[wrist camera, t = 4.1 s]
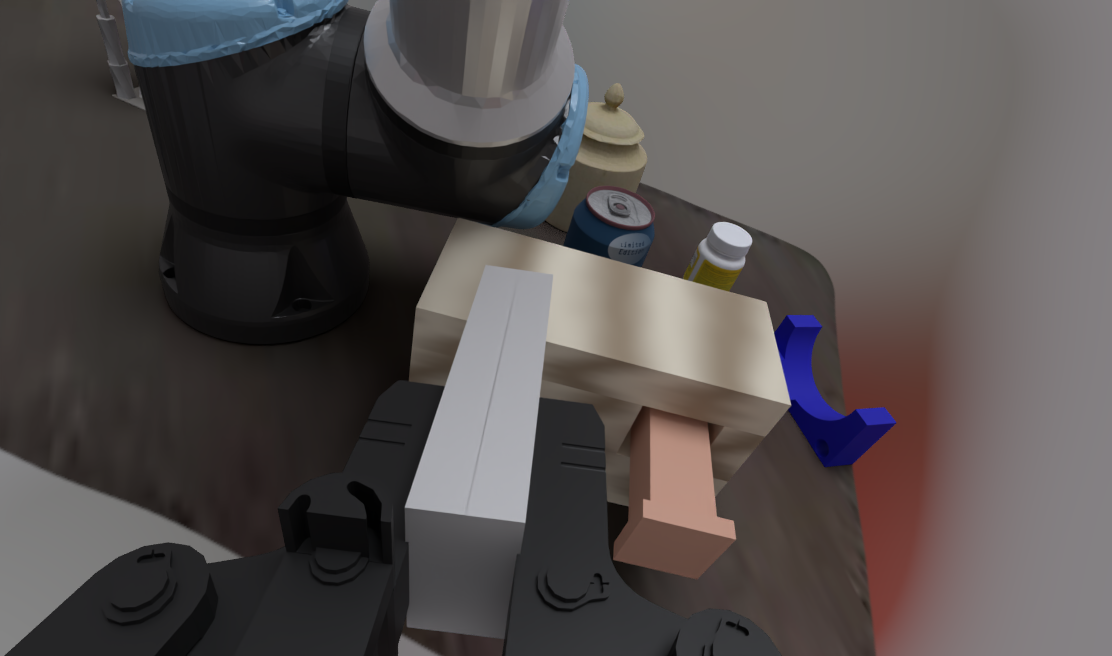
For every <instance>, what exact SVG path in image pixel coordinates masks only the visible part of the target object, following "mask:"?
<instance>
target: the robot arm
mask: <svg viewBox="0 0 1112 656" xmlns="http://www.w3.org/2000/svg"><path fill="white" fill-rule="evenodd" d="M121 1H122V7H123V14H124V20H125V26H126V33H127V39H128V45H129V50H128V57H129V60H130V62H132V63H133V64H134V68H135V72H136V76H137V80H138V83H139V87H140V91H141V95H142V98H143V102H144V106H145V110H146V114H147V117H148V121H149V125H150V129H151V132H152V136H153V140H154V144H155V148H156V151H157V155H158V159H159V163H160V166H161V170H162V174H163V178H164V181H165V185H166V189H167V193H168V197H169V202H170V204H169V210H168V215H167V220H166V225H165V231H164V236H163V241H162V246H161V252H160V257H159V274H160V279H161V282H162V286H163V289H164V292H165V296H166V299H167V301H168V304H169V305H170V307H171V309H172V310H173V311H174V313H175V314H176V315H177V316H178V317H179V318H180V319H182V320H183V321H184V322H185V323H187V324H188V325H190V326H191V327H193V328H194V329H196V330H198V331H200V332H203V333H205V334H207V335H210V336H213V337H216V338H219V339H223V340H227V341H232V342H238V343H247V344H276V343H286V342H292V341H297V340H301V339H306V338H309V337H312V336H315V335H318V334H321V333H323V332H326V331H328V330H330V329H332V328H334V327H335V326H337V325H339V324H341V323H342V322H344V321H345V320H346V319H348V318H349V317H350V316H351V315H352V314H353V313H354V312H355V311H356V310H357V309H358V308H359V307H360V305H361V304H362V302H363V301H364V299H365V297H366V294H367V291H368V287H369V257H368V252H367V249H366V247H365V244H364V242H363V240H362V237H361V234H360V232H359V229H358V227H357V224H356V222H355V219H354V217H353V214H352V212H351V210H350V207H349V205H348V202H347V197H352V198H356V199H357V198H358V199H363V200H368V201H373V202H378V203H384V204H389V205H394V206H399V207H404V208H409V209H414V210H419V211H424V212H429V213H434V214H439V215H444V216H449V217H454V218H462V219H466V220H469V221H474V222H478V223H480V224H484V225H488V226H491V227H501V226H502V227H509V228H516V229H530V228H533V227H536V226H538V225H539V224H541V223H542V222H543V221H544V220H545V219H546V218H547V217H548V216H549V215H550V214H551V213H552V211H553V210H554V208H555V207H556V205H557V203H558V202H559V200H560V198H561V196H562V194H563V192H564V190H565V187H566V185H567V182H568V177H569V169H570V168H571V167H572V166H573V165H574V163H575V160H576V157H577V154H578V151H579V148H580V144H581V140H582V136H583V132H584V127H585V122H586V116H587V108H588V96H589V87H588V79H587V76H586V73H585V71H584V70H583V69H582V68H581V66H579V65H577V64H575V63H574V55H573V49H572V45H571V42H570V39H569V37H568V34H567V32H566V30H565V28H564V26H563V25H562V24H563V20H564V17H565V13H566V9H567V6H568V3H569V0H378V1H377V2H376V3H375V5H374V7H373V9H372V11H367V10H363V9H359V8H356V7H352V6H350V5H348V4H347V2H348V0H121ZM552 283H553V274H546V273H539V272H532V271H525V270H518V269H511V268H504V267H497V266H490V265H485V268H484V271H483V274H482V277H481V280H480V283H479V286H478V289H477V292H476V295H475V298H474V301H473V304H472V307H471V310H470V313H469V316H468V319H467V322H466V325H465V328H464V331H463V334H462V337H461V340H460V343H459V346H458V349H457V352H456V355H455V358H454V361H453V364H452V367H451V370H450V373H449V376H448V379H447V382H446V385H445V386H440V385H433V384H425V383H418V382H410V381H403V380H398V381H397V382H396V383H394V384H393V385H392V386H391V387H390V388H388V389H387V390H386V391H385V392H384V393H382V394H381V395H380V396H379V397H378V399H377V401H376V403H375V405H374V407H373V409H372V411H371V413H370V415H369V418H368V422H367V423H366V424H365V426H364V428H363V430H362V432H361V434H360V436H359V441H358V442H357V443H356V445H355V447H354V449H353V451H352V453H351V455H350V457H349V460H348V462H347V464H346V466H345V468H344V470H343V472H342V473H330V474H327V475H324V476H321V477H317V478H314V479H311V480H309V481H307V482H306V483H304V484H303V485H301V486H300V487H298V488H296V489H295V490H293V491H292V492H291V493H290V494H289V495H288V496H287V498H286V499H285V500H284V501H283V502H282V504H281V505H280V506H279V507H278V512H279V517H280V522H281V527H282V532H283V537H284V542H285V546H284V547H282V548H280V549H278V550H276V551H273V552H269V553H265V554H261V555H257V556H251V557H245V558H239V559H233V560H227V561H221V562H215V563H208V564H207V563H206V561H205V558H204V556H203V555H202V554H200V553H199V552H197V551H196V550H195V549H193V548H192V547H190V546H187V545H181V544H175V543H163V544H156V545H149V546H144V547H141V548H139V549H136V550H134V551H132V552H129V553H127V554H124V555H122V556H120V557H118V558H117V559H115V560H113V561H112V562H111V563H109V564H108V565H106V566H105V567H104V568H102V569H101V570H99V571H98V572H97V573H95V574H94V575H93V576H92V577H91V578H90V579H89V580H88V581H86V582H85V583H84V584H83V585H82V586H81V587H80V588H79V589H77V590H76V591H75V592H74V593H73V594H72V595H71V596H70V597H69V598H68V599H66V600H65V601H64V602H63V603H62V604H61V605H60V606H59V607H58V608H57V609H55V610H54V611H53V612H52V613H51V614H50V615H49V616H48V617H47V618H46V619H44V620H43V621H42V622H41V623H40V624H39V625H38V626H37V627H36V628H34V629H33V630H32V631H31V632H30V633H29V634H28V635H27V636H26V637H24V638H23V639H22V640H21V641H20V642H19V643H18V644H17V645H16V646H15V647H14V648H12V649H11V650H10V651H9V652H8V653H7V654H6V655H5V656H398V643H399V639H400V636H401V632H402V629H403V625H404V621H405V618H406V614H407V627H410V628H419V629H427V630H435V631H443V632H451V633H460V634H468V635H476V636H484V637H493V638H501V639H504V646H503V654H502V656H782V655H781V654H780V652H779V651H778V649H777V648H776V646H775V645H774V643H773V642H772V640H771V639H770V637H769V636H768V635H767V634H766V633H765V632H764V631H762V630H761V629H760V628H759V627H758V626H757V625H755V624H754V623H753V622H752V621H751V620H750V619H747V618H745V617H743V616H741V615H739V614H736V613H734V612H732V611H730V610H720V609H707V610H704V611H701V612H698V613H695V614H692V615H691V617H690V618H689V619H686V618H684V617H681V616H679V615H677V614H675V613H673V612H671V611H668V610H666V609H664V608H662V607H660V606H658V605H655V604H653V603H651V602H650V601H648V600H646V599H644V598H643V597H641V596H639V595H638V594H637V593H635V592H634V591H633V590H632V589H631V588H630V587H629V586H628V585H626V584H625V582H624V581H623V580H622V578H621V577H620V576H619V574H618V573H617V571H616V569H615V567H614V565H613V563H612V560H611V558H610V552H609V546H608V519H607V487H606V472H605V470H606V455H605V425H604V424H603V422H602V420H601V418H600V417H599V415H598V413H597V411H596V409H595V408H594V406H593V404H586V403H579V402H571V401H564V400H557V399H549V398H542V397H540V389H541V380H542V371H543V362H544V353H545V345H546V336H547V327H548V318H549V309H550V300H551V292H552Z"/></svg>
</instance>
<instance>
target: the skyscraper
mask: <svg viewBox="0 0 1112 656" xmlns="http://www.w3.org/2000/svg"><path fill="white" fill-rule="evenodd" d="M96 1H97V5H98V8H99V11H100V15H96V17H97V21H98V24H99V27H100V30H101V34H102V37H103V40H104V44H105V47H106V50H107V54H108V58H109V60H108V61H107V62H108V65H109V68H110V72H111V75H112V78H113V81H114V84H115V87H116V90H117V94H114V95H112V97H114V98H117V99H119V100H121V101H123V102H126V103H128V104H130V105H132V106H135V107H137V108H139V109H141V110H144V111H146V110H145V106H144V102H143V98H142V95H141V91H140V87H137V88H133V84H132V79H131V75H130V70H129V65H128V63H127V61H126V60H125V59H124V56H123V51H122V47H121V43H120V39H119V34H118V30H117V26H116V22H115V18H114V17H113V16H112V15H109V13H108V9H107V4H106V0H96ZM120 3H121V5H122V1H121V0H120Z"/></svg>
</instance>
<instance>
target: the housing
mask: <svg viewBox="0 0 1112 656" xmlns="http://www.w3.org/2000/svg"><path fill="white" fill-rule="evenodd" d="M485 265H490V266H497V267H504V268H511V269H518V270H525V271H532V272H539V273H546V274H553V283H552V292H551V300H550V309H549V318H548V327H547V336H546V345H545V353H544V362H543V371H542V380H541V389H540V397H542V398H549V399H557V400H564V401H571V402H579V403H586V404H593V406H594V408H595V409H596V411H597V413H598V415H599V417H600V418H601V420H602V422H603V424H604V425H605V455H606V470H605V472H606V487H607V501H608V502H612V503H616V504H620V505H624V506H628V507H629V479H630V444H631V426H632V424H633V422H634V421H635V419H636V417H637V415H638V413H639V412H640V410H641V408H642V406H647V407H651V408H655V409H658V410H662V411H666V412H670V413H674V414H678V415H682V416H686V417H690V418H694V419H698V420H701V421H705V422H708V431H709V441H710V452H711V462H712V472H713V483H714V493H715V496H716V495H717V494H718V493H719V492H720V490H721V489H722V488H723V487H724V486H725V484H726V483H727V482H728V481H729V480H730V478H731V477H732V476H733V475H734V474H735V472H736V471H737V470H738V469H739V468H740V466H741V465H742V464H743V463H744V462H745V460H746V459H747V458H748V457H749V456H750V454H751V453H752V452H753V451H754V450H755V448H756V447H757V446H758V445H759V444H760V442H761V441H762V440H763V439H764V438H765V436H766V435H767V434H768V433H769V432H770V430H771V429H772V428H773V427H774V426H775V424H776V423H777V422H778V421H779V420H780V418H781V417H782V416H783V415H784V414H785V412H786V411H787V410H788V409H789V408H790V406H791V402H790V398H789V394H788V389H787V385H786V381H785V377H784V373H783V369H782V364H781V360H780V356H779V352H778V348H777V344H776V339H775V335H774V331H773V327H772V323H771V319H770V315H769V310H768V306H767V302H764V301H761V300H757V299H753V298H750V297H746V296H742V295H739V294H735V293H732V292H728V291H724V290H721V289H717V288H713V287H710V286H706V285H702V284H699V283H695V282H692V281H688V280H684V279H681V278H677V277H673V276H670V275H666V274H662V273H659V272H655V271H651V270H648V269H644V268H641V267H637V266H633V265H630V264H626V263H622V262H619V261H615V260H611V259H608V258H604V257H600V256H597V255H593V254H590V253H586V252H582V251H579V250H575V249H571V248H568V247H564V246H560V245H557V244H553V243H549V242H546V241H542V240H539V239H535V238H531V237H528V236H524V235H520V234H517V233H513V232H509V231H506V230H502V229H498V228H495V227H491V226H488V225H484V224H480V223H477V222H473V221H469V220H466V219H462V218H458V219H457V221H456V223H455V225H454V227H453V230H452V232H451V234H450V236H449V238H448V240H447V242H446V244H445V247H444V249H443V251H442V253H441V255H440V257H439V259H438V262H437V264H436V266H435V268H434V270H433V272H432V274H431V276H430V279H429V281H428V283H427V285H426V287H425V289H424V291H423V294H422V296H421V298H420V300H419V302H418V304H417V306H416V313H415V323H414V333H413V343H412V353H411V363H410V373H409V381H410V382H418V383H425V384H433V385H440V386H445V385H446V382H447V379H448V376H449V373H450V370H451V367H452V364H453V361H454V358H455V355H456V352H457V349H458V346H459V343H460V340H461V337H462V334H463V331H464V328H465V325H466V322H467V319H468V316H469V313H470V310H471V307H472V304H473V301H474V298H475V295H476V292H477V289H478V286H479V283H480V280H481V277H482V274H483V271H484V268H485Z"/></svg>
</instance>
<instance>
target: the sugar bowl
mask: <svg viewBox="0 0 1112 656" xmlns="http://www.w3.org/2000/svg"><path fill="white" fill-rule="evenodd" d="M623 99H624V93H623V89H622V87H621V85H620V84H619V83H617V84H614V85H612V86H611V87H610V88H609V89H608V90H607V92H606V94H605V102H606V103H601V102H590V103H588V108H587V116H586V122H585V127H584V132H583V136H582V140H581V144H580V148H579V151H578V154H577V157H576V160H575V163H574V165H573V166H572V167H571V168H570V169H569V177H568V182H567V185H566V187H565V190H564V192H563V194H562V196H561V198H560V200H559V202H558V203H557V205H556V207H555V208H554V210H553V211H552V213H551V214H550V215H549V216H548V217H547V218H546V219H545V221H547V222H548V223H550V224H551V225H553V226H554V227H556V228H558V229H560V230H562V231H564V232H568V229H569V226H570V222H571V219H572V216H573V213H574V210H575V208H576V207H577V205H578V204H579V203H580V202H582V201H583V200H584V199H585V198H586V196H587V193H588V192H589V191H590V190H591V189H593V188H595V187H598V186H615V187H620V188H623V189H626V190H629V191H631V192H634V193H636V190H637V188H638V185H639V182H640V180H641V177H642V174H643V171H644V169H645V166H646V163H647V155H646V152H645V151H644V149H643V148H642V146H641V145H640V144H639V142H640V141H642V140H643V138H644V133H643V131H642V130H641V128H640V127H639V126H638V125H637V123H636V121H635V120H634V119H633V118H632V116H631V115H629V114H628V113H627V112H625V111H624V110H621V109H620V108H618V106H619V105H620V104H621V103H622V102H623Z"/></svg>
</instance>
